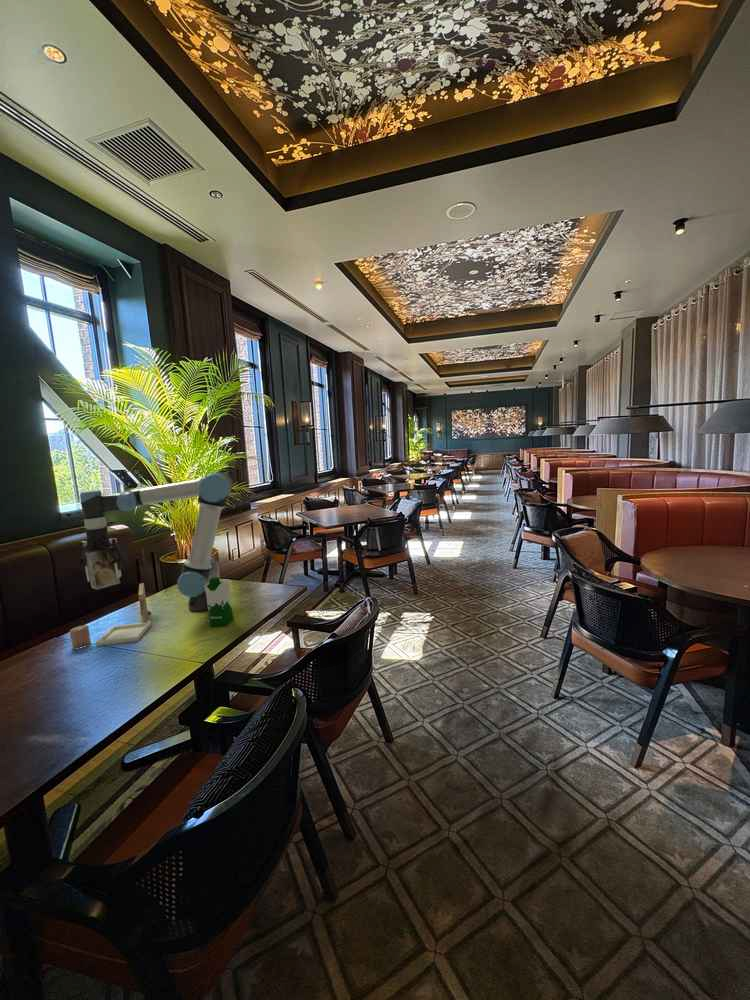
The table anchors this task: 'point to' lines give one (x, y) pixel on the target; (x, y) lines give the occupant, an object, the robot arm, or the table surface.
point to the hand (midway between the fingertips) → (104, 578)
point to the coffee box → (101, 568)
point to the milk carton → (219, 602)
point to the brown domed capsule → (80, 636)
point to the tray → (124, 633)
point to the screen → (143, 604)
